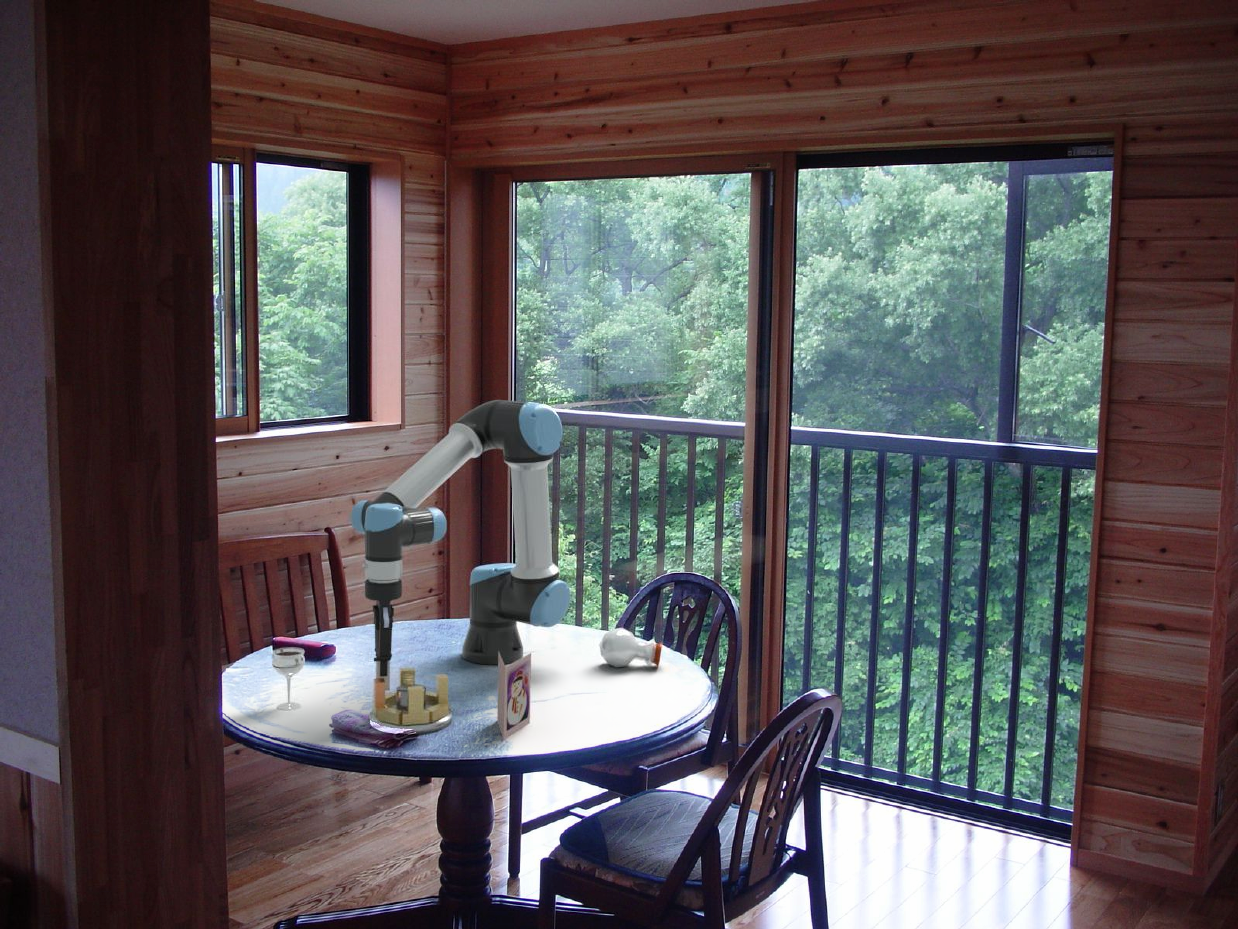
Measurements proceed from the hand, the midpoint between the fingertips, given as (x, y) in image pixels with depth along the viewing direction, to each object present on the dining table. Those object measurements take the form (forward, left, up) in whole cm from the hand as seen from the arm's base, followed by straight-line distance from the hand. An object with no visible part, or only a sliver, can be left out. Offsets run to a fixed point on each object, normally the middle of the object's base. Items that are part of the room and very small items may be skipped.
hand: (382, 689), depth 249 cm
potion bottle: (-63, -25, -6) cm, 68 cm away
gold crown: (-6, +3, -4) cm, 8 cm away
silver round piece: (-6, +3, -6) cm, 9 cm away
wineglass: (+18, -12, -6) cm, 23 cm away
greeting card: (-24, +12, -6) cm, 27 cm away
